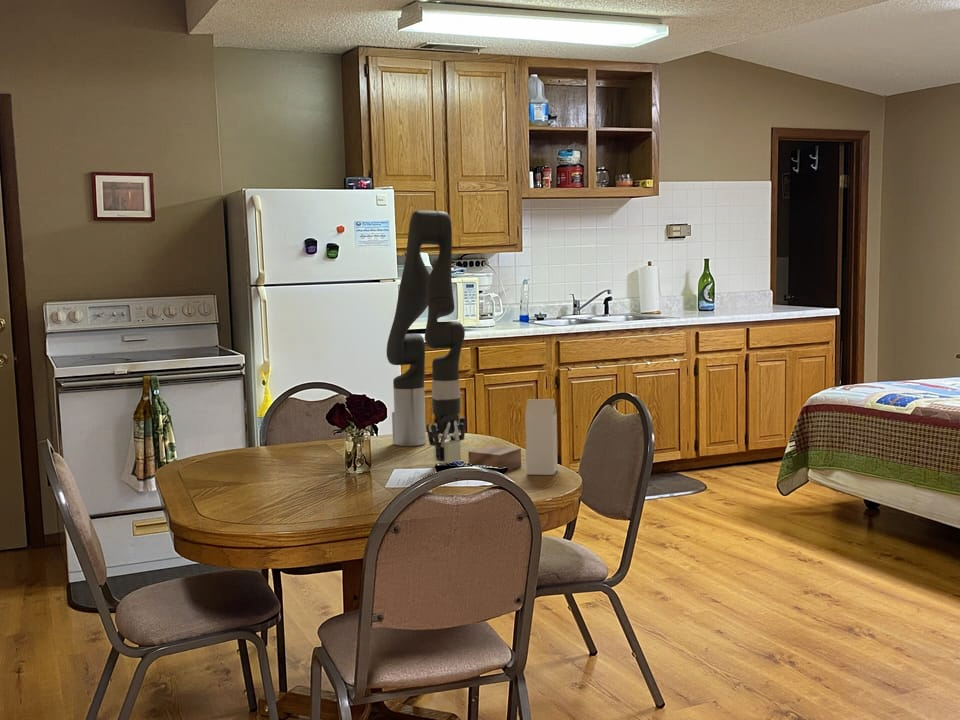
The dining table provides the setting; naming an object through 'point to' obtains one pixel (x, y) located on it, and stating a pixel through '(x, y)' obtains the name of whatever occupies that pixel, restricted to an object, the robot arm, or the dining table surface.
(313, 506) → the dining table surface
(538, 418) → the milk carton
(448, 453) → the sage cube
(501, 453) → the walnut block
